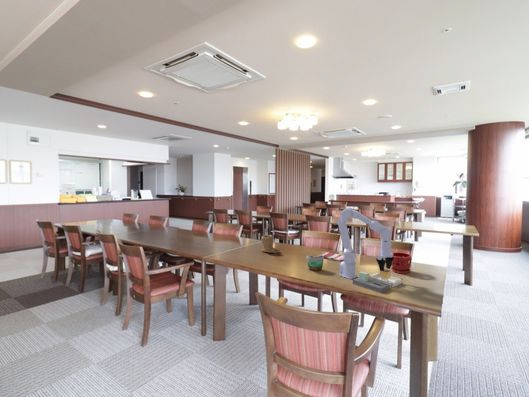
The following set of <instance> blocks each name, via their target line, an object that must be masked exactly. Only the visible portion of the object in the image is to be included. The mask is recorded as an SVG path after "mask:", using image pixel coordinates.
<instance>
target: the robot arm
mask: <svg viewBox="0 0 529 397" xmlns="http://www.w3.org/2000/svg"><path fill="white" fill-rule="evenodd" d="M350 219H358V220H359V221H361V222H363V223H364V224H366V225H368V226H369V229H370V230H373V232H376V233H377V234H379V235H380V236H381V238H380V254H378V255H377V258H375V260H376V262H377V265H378V267H379V269H378V270H379V272H380V271H384V269H387V270H390V269H391V268H392V265H391V264H392V262H393V260H394V257H392V256H393V253H394V252H392V234H393V233H392V229H391V228H390V227H388V226H386V225H383V224H382V223H381V222H380V221H379V220H371V219H370V218H368V217H367V216H366V215H364V214H362V213H361V212H360V211H357V210H356V209H353V208H352V207H347V208H344V209H343V210H342V211H341V212H340V213H339V217H338V220H337V226H338V230H339V233H340V239H341V242H342V243H341V244H342V246H343V247H342V248H343V255H344V261H342V262H340V264H339V274H338V276H339V277H344V278H347V279H349V280H353V279H356V278H359V275H356V268H357V266H356V265H357V264H356V259H357V255H356V252H354V249H353V247H352V244H351V238H350V234H349V231H348V226H347V223H348V221H350ZM394 261H395V260H394Z"/></svg>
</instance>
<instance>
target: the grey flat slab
mask: <svg viewBox="0 0 529 397" xmlns="http://www.w3.org/2000/svg"><path fill="white" fill-rule="evenodd" d="M352 285H356V286H359V287H361V288H364V289H368V290H370V291H374V292H376V293H379V294H382V293H384V292H386V291H387V292H388V291H389V290H390V287H389V285H388V284H385V283H381V282H378V281H375V280H371V279H369V281H367V282H365V281H362V280H359V277H356V278H353V279H352Z"/></svg>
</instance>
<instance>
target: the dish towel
mask: <svg viewBox="0 0 529 397" xmlns="http://www.w3.org/2000/svg"><path fill="white" fill-rule="evenodd" d="M323 255H324V259H323V260H329V261H334V262H335V261H336V262H340V263H341V262H342V261H344V254H339V253H335V252H328V251H327V252H324V253H322V254H319V255H317V256H319V257H322V256H323Z"/></svg>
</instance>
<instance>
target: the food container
mask: <svg viewBox="0 0 529 397" xmlns="http://www.w3.org/2000/svg"><path fill="white" fill-rule="evenodd" d="M306 259H307V268H308V271H309V272H310V271H311V272H321V271H322V270H323V263H324V260H325V259H324V255H323V256H322V257H319V256H318V255H308V254H306Z"/></svg>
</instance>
